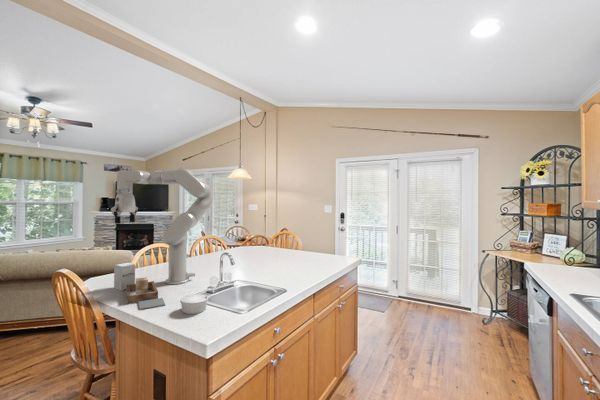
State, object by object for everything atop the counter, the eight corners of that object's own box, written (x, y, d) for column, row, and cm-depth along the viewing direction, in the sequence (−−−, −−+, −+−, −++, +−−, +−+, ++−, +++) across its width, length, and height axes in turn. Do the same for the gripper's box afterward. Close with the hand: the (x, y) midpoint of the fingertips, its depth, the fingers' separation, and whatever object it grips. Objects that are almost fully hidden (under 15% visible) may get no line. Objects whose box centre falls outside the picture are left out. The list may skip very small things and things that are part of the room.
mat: (162, 298, 138) (162, 297, 138) (165, 305, 129) (165, 304, 129) (138, 302, 132) (138, 301, 132) (139, 310, 124) (139, 308, 124)
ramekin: (206, 314, 120) (206, 301, 120) (177, 316, 118) (177, 303, 118) (209, 304, 131) (209, 293, 131) (183, 306, 129) (183, 294, 128)
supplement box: (120, 290, 149) (121, 266, 149) (113, 288, 153) (113, 264, 153) (135, 287, 155) (135, 263, 155) (128, 284, 159) (128, 262, 159)
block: (147, 293, 146) (147, 277, 146) (147, 295, 142) (147, 279, 142) (135, 294, 143) (135, 278, 143) (136, 297, 139) (136, 281, 139)
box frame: (153, 287, 155) (153, 281, 155) (158, 299, 137) (158, 291, 137) (126, 291, 148) (126, 284, 148) (127, 304, 131) (127, 296, 131)
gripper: (117, 192, 154) (117, 224, 154) (142, 192, 170) (142, 221, 170) (105, 192, 155) (106, 224, 156) (132, 192, 172) (132, 221, 172)
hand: (125, 222), depth 163 cm, fingers open, 9 cm apart
